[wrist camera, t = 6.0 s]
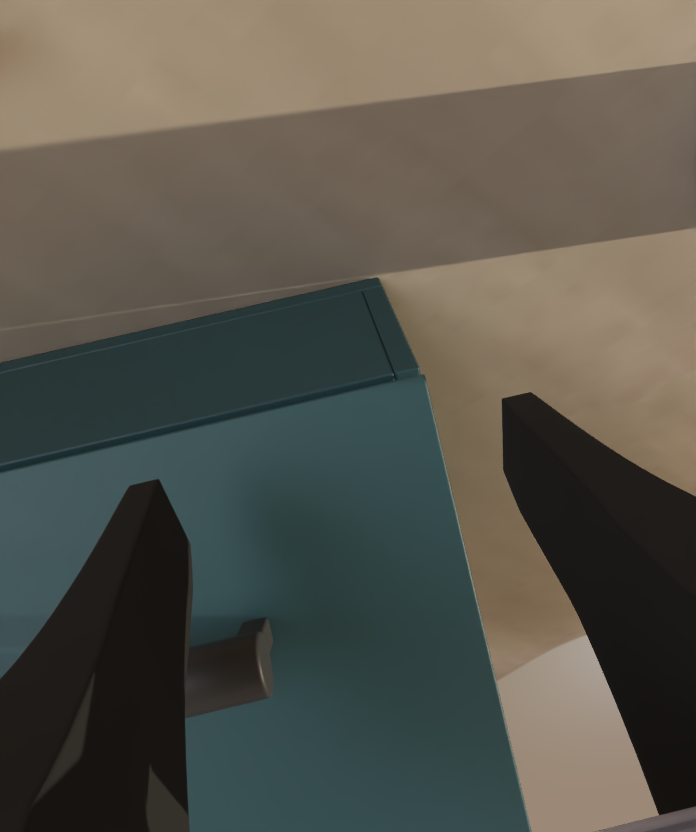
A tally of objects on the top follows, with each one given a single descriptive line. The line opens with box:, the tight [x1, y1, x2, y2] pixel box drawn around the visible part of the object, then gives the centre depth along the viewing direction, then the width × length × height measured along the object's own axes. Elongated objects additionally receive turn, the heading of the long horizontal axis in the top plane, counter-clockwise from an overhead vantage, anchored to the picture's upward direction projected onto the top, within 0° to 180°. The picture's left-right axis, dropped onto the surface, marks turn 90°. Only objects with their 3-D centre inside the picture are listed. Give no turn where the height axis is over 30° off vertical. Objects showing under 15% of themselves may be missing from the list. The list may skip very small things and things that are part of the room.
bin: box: [0, 278, 420, 472], centre depth 24 cm, size 14×15×6 cm
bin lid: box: [0, 374, 531, 832], centre depth 15 cm, size 15×15×4 cm
